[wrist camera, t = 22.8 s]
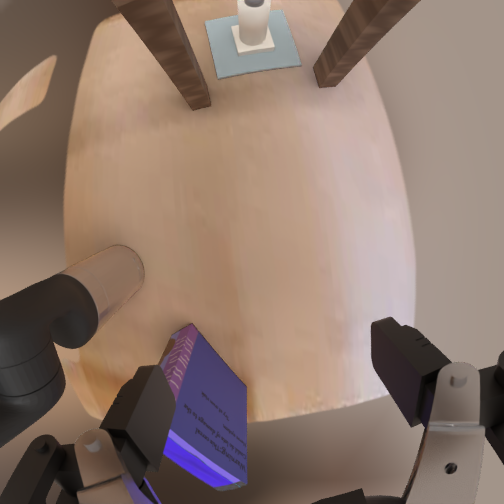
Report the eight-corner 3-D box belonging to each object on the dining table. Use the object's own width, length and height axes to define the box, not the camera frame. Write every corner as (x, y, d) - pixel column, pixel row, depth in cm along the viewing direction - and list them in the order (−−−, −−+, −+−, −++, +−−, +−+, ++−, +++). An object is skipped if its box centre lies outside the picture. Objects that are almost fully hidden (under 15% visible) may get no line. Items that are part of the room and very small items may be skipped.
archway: (193, 110, 40) (99, -14, 8) (188, 89, 39) (102, -44, 7) (335, 86, 40) (449, -26, 7) (329, 66, 39) (425, -56, 7)
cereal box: (172, 334, 49) (129, 428, 25) (192, 322, 48) (156, 418, 25) (227, 395, 52) (219, 492, 29) (246, 386, 52) (247, 485, 28)
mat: (218, 79, 39) (217, 78, 39) (205, 23, 36) (204, 21, 36) (301, 66, 39) (301, 64, 38) (282, 11, 36) (282, 9, 35)
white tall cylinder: (238, 56, 38) (235, 13, 25) (231, 30, 36) (227, -15, 23) (274, 51, 38) (283, 7, 24) (265, 25, 36) (271, -21, 23)
